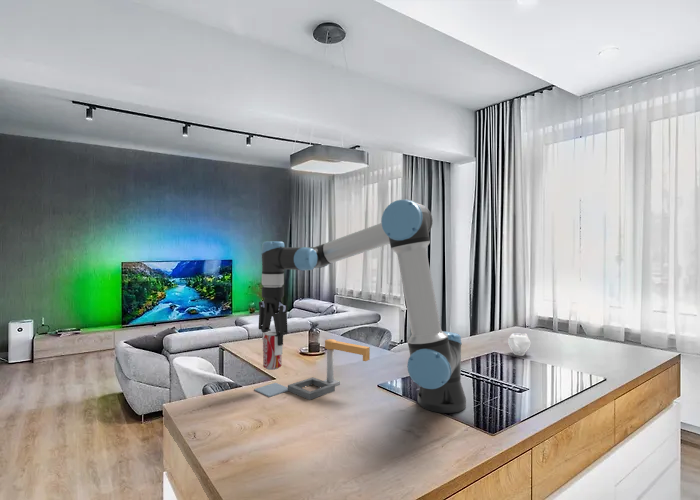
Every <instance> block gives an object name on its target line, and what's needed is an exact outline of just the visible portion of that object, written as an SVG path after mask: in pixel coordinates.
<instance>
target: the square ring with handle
mask: <svg viewBox="0 0 700 500" xmlns="http://www.w3.org/2000/svg"><path fill="white" fill-rule="evenodd" d="M334 351H335V349H326V379H324V380H321V379H319V378H316V377H314V376H313V377H310V378H306V379H303V380H301V381H296V382H294V383H289V384H287V388H288V391H287V392H289V393H292V394H293V395H296V394H297V396H299V397H302V398H304V399H307V400H309V401H310V400H314V399H316V398H320V397H321V396H324V395H328V394H330V393H334V392H335V391H336V386H340V385H341V382H340V381H339V380H337V379H334V377H335V376H334V374H335V373H334V372H335V371H334V369H335V368H334V366H335V363H334V361H335V358H334V357H335V355H334V354H335V352H334ZM311 384H314V385H316V386H315V387H317V386H318V387H317V389H313V390H311V391H309V390H307V389H305V388H306V387H305V386H307V387H309V386H308V385H310V386H312V385H311ZM314 385H313V386H314ZM302 387H304V388H302ZM320 387H321V388H320ZM327 393H328V394H327Z"/></svg>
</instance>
